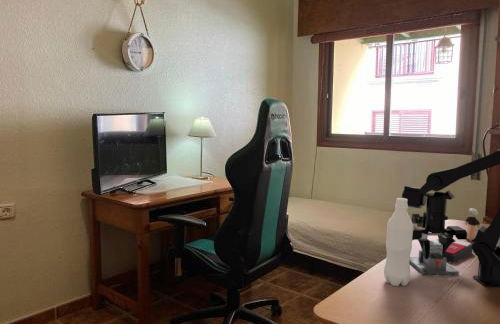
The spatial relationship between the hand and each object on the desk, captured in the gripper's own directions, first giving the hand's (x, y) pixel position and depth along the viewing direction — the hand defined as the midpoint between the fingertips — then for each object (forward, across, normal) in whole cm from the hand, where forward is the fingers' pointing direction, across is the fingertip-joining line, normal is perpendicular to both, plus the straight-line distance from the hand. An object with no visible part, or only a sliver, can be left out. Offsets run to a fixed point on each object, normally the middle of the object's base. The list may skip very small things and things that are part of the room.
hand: (432, 258), depth 131 cm
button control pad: (+4, -12, -12) cm, 17 cm away
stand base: (+3, 0, 0) cm, 3 cm away
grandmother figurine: (+3, -29, -27) cm, 40 cm away
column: (+2, 0, 0) cm, 2 cm away
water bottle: (+3, +16, +11) cm, 20 cm away
